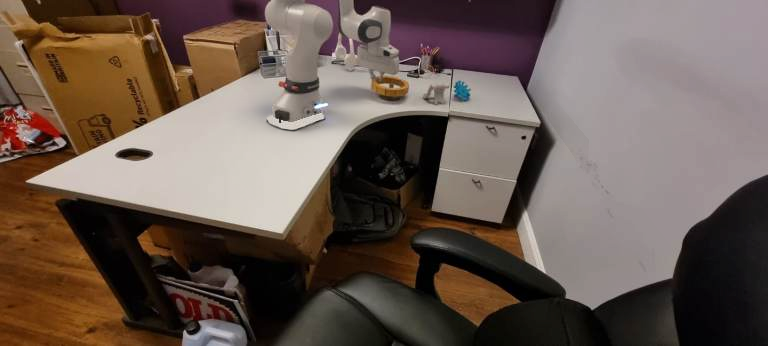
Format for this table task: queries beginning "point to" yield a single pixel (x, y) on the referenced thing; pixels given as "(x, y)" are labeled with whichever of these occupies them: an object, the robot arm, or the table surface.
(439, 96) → the tablet stand
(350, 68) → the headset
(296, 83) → the robot arm
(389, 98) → the ring stand
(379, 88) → the mustard ring
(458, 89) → the gear
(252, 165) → the table surface
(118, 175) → the table surface
